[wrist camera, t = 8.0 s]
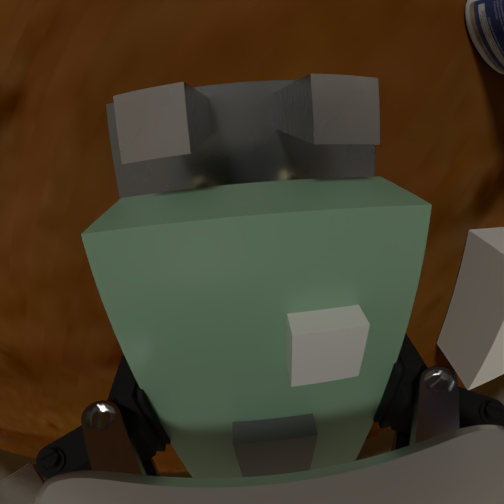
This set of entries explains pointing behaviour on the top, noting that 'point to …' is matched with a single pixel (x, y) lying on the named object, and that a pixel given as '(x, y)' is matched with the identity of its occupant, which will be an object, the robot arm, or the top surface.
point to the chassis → (244, 133)
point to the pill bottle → (487, 30)
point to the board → (262, 313)
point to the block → (477, 311)
